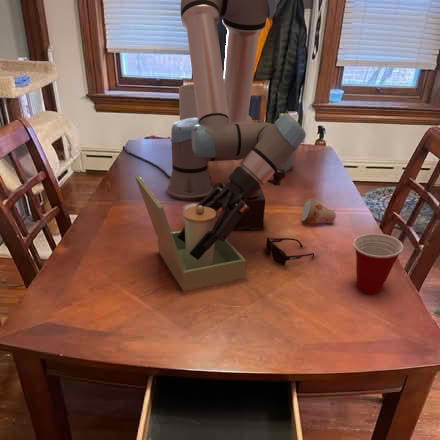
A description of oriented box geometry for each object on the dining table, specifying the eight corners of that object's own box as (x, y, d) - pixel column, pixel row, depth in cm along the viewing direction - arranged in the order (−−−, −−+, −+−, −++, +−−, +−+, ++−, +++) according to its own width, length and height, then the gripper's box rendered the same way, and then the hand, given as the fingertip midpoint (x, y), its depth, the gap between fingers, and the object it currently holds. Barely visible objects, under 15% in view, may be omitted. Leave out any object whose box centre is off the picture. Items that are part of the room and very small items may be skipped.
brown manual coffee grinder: (228, 231, 133) (230, 170, 122) (225, 214, 142) (227, 156, 131) (281, 230, 134) (288, 170, 123) (275, 214, 143) (281, 157, 132)
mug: (339, 228, 136) (329, 203, 130) (308, 238, 140) (296, 214, 134) (337, 212, 141) (327, 187, 135) (306, 222, 145) (295, 198, 138)
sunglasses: (259, 250, 123) (262, 233, 121) (296, 248, 128) (300, 231, 125) (278, 270, 115) (282, 252, 113) (317, 266, 120) (322, 249, 118)
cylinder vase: (177, 156, 187) (175, 90, 172) (184, 147, 197) (183, 83, 183) (207, 158, 185) (208, 92, 171) (213, 149, 195) (214, 85, 181)
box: (213, 244, 126) (214, 225, 123) (244, 280, 111) (246, 260, 108) (158, 254, 121) (157, 234, 117) (183, 294, 106) (183, 272, 103)
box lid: (137, 174, 107) (134, 175, 107) (162, 206, 92) (159, 208, 92) (158, 232, 117) (156, 233, 117) (184, 270, 102) (181, 271, 102)
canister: (178, 264, 115) (176, 204, 106) (200, 253, 120) (200, 196, 111) (199, 276, 111) (198, 215, 102) (222, 264, 116) (223, 205, 107)
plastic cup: (338, 275, 114) (347, 232, 107) (381, 274, 115) (392, 231, 108) (352, 301, 105) (363, 255, 98) (398, 299, 106) (411, 254, 99)
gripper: (281, 201, 102) (213, 276, 106) (241, 170, 118) (183, 236, 122) (262, 181, 97) (191, 261, 101) (222, 152, 113) (163, 221, 117)
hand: (187, 247), depth 111 cm, fingers open, 8 cm apart
